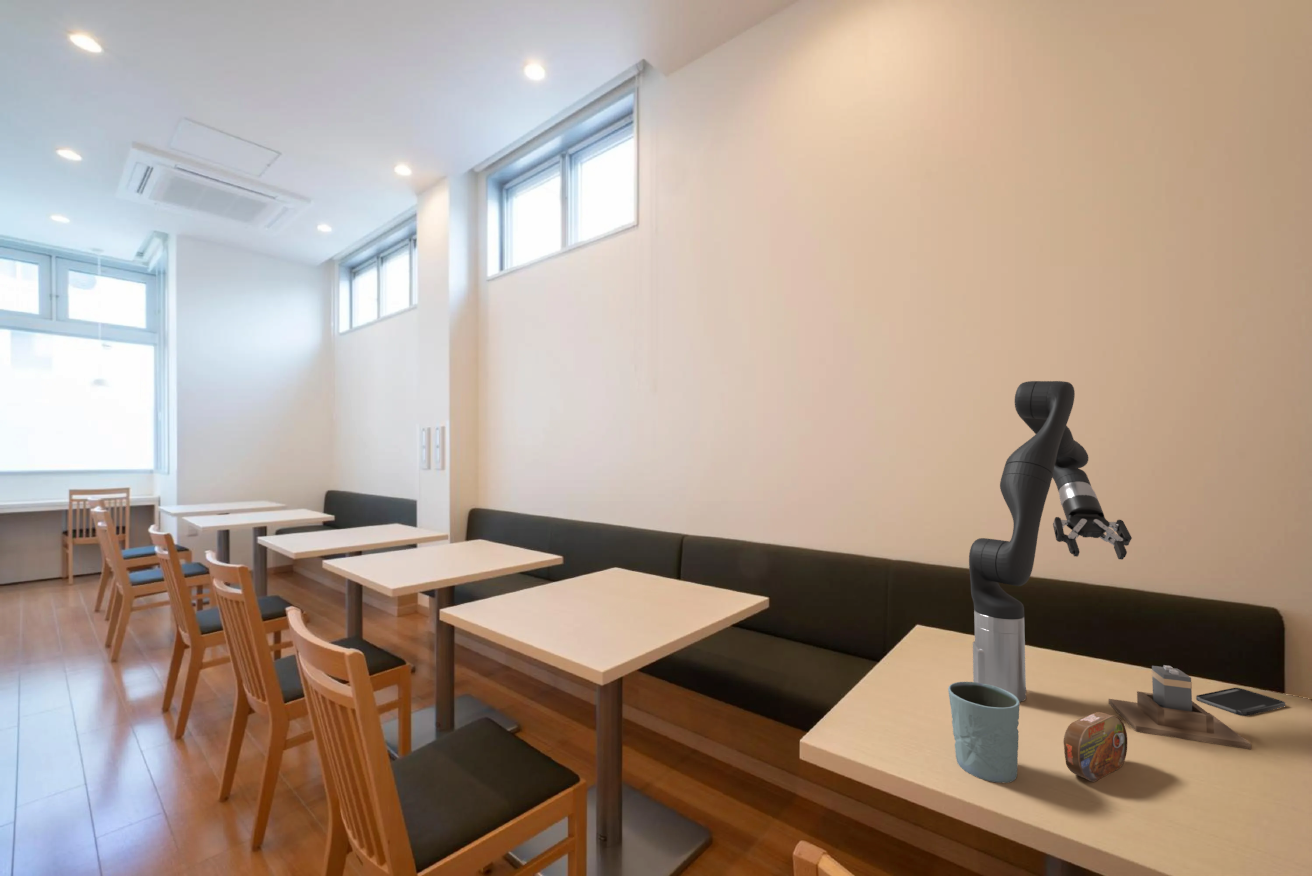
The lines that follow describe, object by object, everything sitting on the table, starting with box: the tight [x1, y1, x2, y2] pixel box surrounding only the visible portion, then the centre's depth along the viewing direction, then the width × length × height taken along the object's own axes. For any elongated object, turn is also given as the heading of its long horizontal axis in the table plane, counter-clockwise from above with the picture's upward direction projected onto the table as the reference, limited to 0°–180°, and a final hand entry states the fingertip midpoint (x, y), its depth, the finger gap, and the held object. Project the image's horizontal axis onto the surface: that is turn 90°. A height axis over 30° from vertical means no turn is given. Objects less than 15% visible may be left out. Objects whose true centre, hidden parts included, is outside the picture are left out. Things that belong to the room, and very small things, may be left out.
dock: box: [1108, 690, 1252, 750], centre depth 101 cm, size 16×12×4 cm
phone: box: [1195, 687, 1286, 717], centre depth 110 cm, size 8×1×15 cm
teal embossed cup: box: [947, 681, 1021, 784], centre depth 87 cm, size 10×10×12 cm
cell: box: [1151, 664, 1193, 712], centre depth 101 cm, size 4×5×10 cm
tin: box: [1063, 711, 1128, 783], centre depth 86 cm, size 15×3×8 cm, turn 116°
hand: (1099, 556), depth 123 cm, fingers open, 8 cm apart
